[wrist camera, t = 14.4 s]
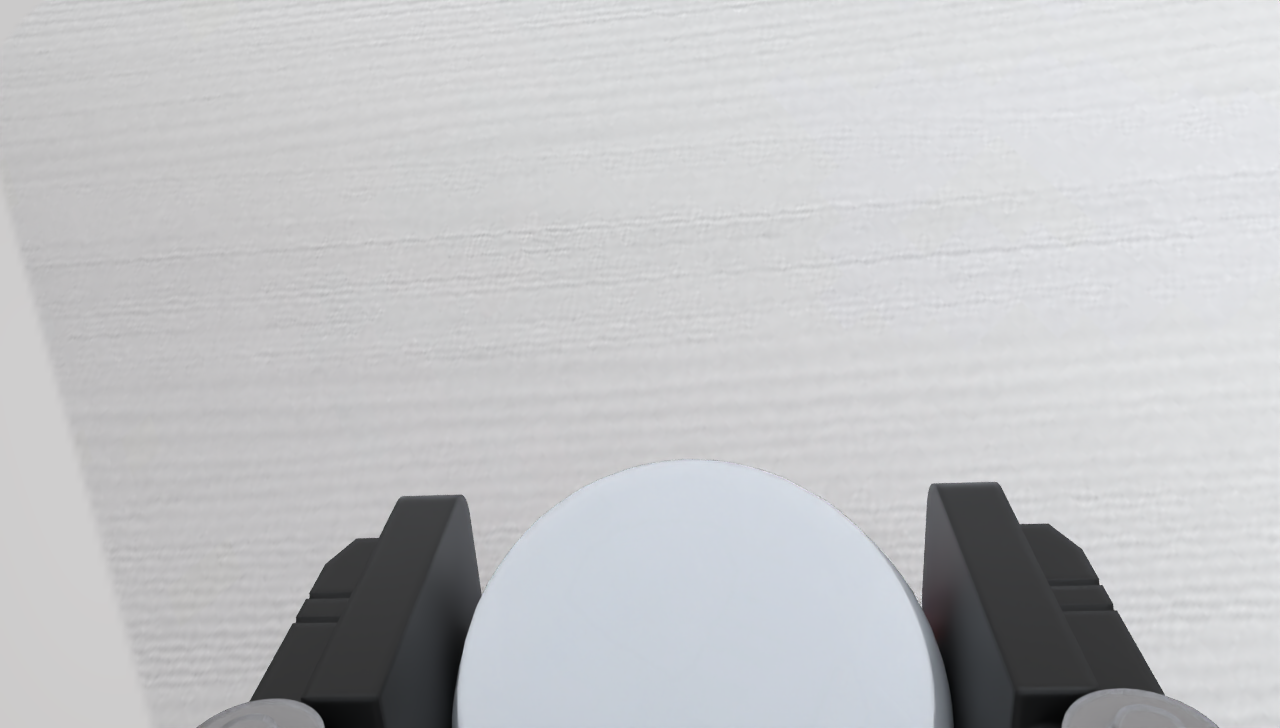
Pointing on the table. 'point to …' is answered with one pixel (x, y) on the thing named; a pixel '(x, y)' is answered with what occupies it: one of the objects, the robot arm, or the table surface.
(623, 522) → the pill bottle
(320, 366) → the table surface
